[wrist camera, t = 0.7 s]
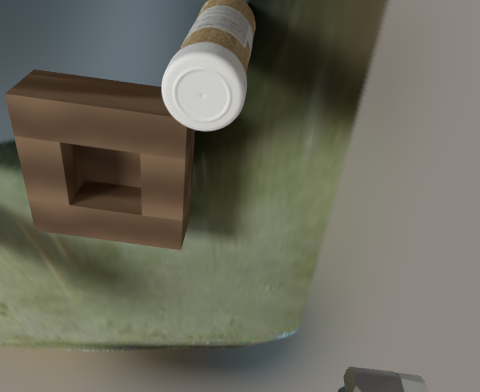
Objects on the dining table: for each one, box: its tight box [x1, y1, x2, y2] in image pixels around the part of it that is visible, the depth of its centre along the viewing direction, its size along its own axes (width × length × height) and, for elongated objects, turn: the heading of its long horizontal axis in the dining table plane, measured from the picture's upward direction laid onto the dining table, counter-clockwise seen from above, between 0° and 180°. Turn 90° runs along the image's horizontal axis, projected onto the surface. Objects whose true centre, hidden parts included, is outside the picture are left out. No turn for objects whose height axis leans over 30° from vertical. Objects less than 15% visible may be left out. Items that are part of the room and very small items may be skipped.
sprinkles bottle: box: [162, 0, 256, 131], centre depth 29 cm, size 5×5×13 cm
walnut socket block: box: [5, 69, 195, 250], centre depth 40 cm, size 14×14×5 cm
